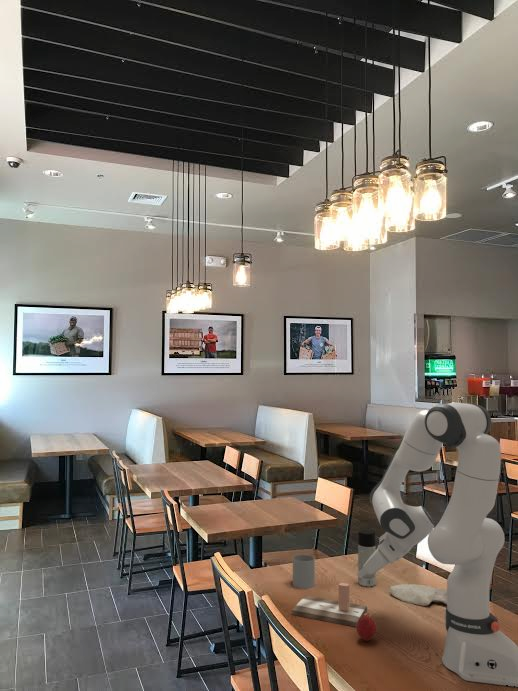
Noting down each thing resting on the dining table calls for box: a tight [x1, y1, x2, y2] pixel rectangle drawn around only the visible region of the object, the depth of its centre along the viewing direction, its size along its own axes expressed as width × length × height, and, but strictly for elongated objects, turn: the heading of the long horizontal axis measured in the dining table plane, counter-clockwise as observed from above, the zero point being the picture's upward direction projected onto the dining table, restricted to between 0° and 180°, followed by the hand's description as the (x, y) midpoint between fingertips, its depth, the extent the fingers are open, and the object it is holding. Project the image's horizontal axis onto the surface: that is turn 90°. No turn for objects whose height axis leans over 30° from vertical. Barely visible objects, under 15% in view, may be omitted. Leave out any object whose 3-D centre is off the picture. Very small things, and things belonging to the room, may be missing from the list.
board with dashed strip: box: [291, 595, 368, 628], centre depth 185 cm, size 22×14×2 cm, turn 66°
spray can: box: [357, 529, 377, 588], centre depth 213 cm, size 7×7×20 cm
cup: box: [292, 554, 316, 590], centre depth 212 cm, size 8×8×10 cm
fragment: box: [389, 583, 447, 607], centre depth 198 cm, size 15×20×5 cm
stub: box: [338, 582, 350, 611], centre depth 183 cm, size 3×2×8 cm
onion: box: [356, 612, 377, 642], centre depth 165 cm, size 6×6×8 cm
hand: (361, 571), depth 182 cm, fingers open, 8 cm apart
